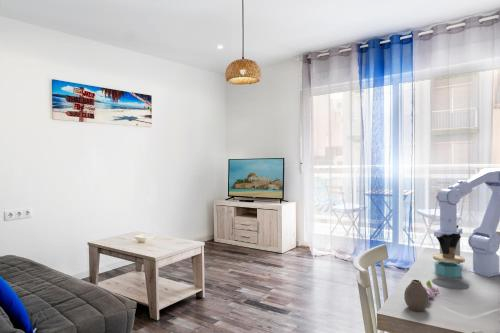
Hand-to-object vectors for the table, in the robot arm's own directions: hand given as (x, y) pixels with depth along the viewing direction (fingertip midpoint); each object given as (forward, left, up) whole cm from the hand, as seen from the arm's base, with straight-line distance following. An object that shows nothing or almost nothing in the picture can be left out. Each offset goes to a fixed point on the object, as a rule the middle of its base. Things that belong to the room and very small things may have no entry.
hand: (448, 253), depth 137 cm
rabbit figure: (+26, +11, -10) cm, 30 cm away
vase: (+37, +15, -10) cm, 41 cm away
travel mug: (-19, -13, -10) cm, 25 cm away
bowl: (-2, -2, -10) cm, 10 cm away
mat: (+8, +6, -10) cm, 14 cm away
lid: (0, 0, -2) cm, 2 cm away
